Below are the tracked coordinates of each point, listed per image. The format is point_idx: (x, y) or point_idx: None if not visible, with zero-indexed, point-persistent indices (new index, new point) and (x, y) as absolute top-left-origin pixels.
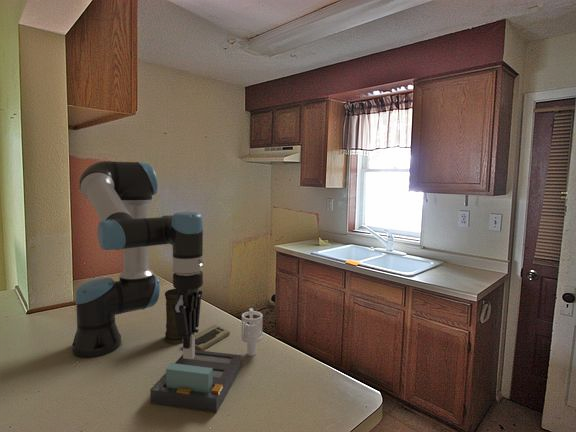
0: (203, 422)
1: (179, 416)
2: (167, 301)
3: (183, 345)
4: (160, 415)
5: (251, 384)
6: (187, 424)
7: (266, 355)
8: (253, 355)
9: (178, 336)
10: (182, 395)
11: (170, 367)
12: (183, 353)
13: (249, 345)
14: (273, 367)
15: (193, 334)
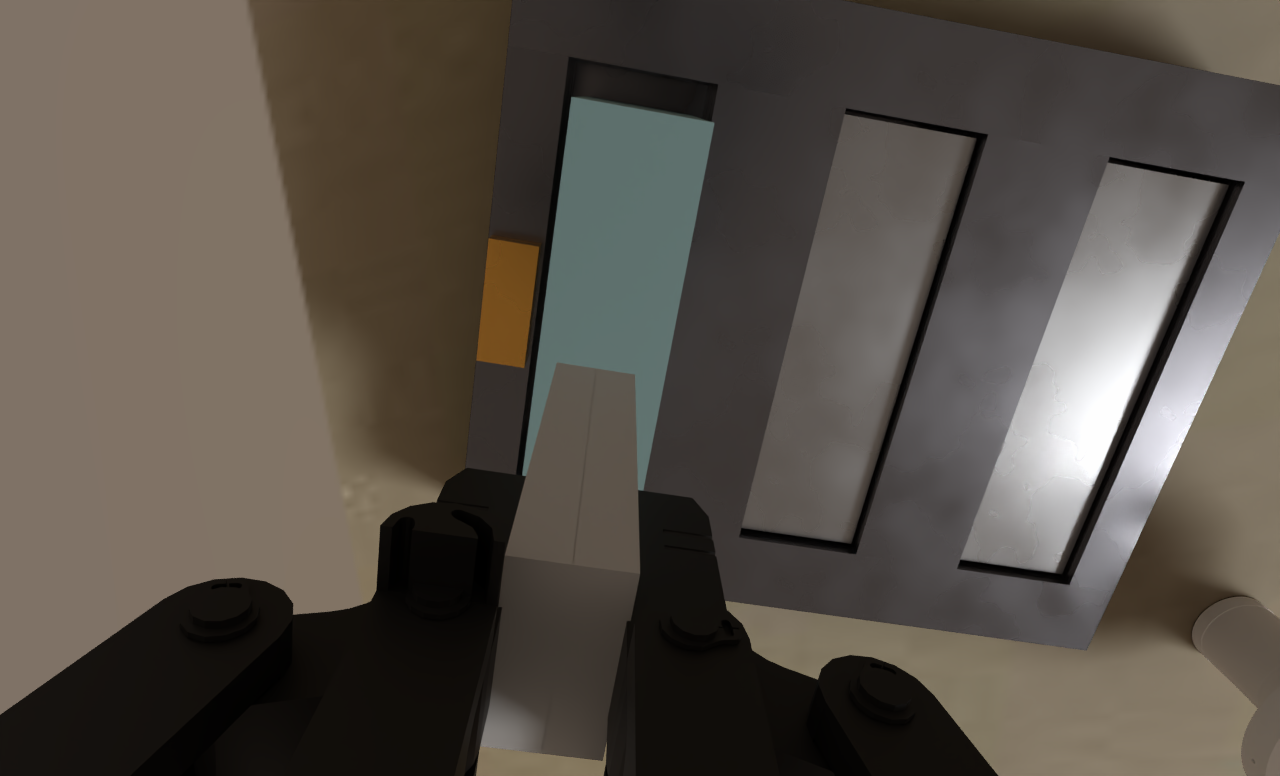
0: (378, 443)
1: (413, 267)
2: None
3: (439, 500)
4: (403, 114)
5: (796, 664)
6: (342, 347)
7: (1174, 724)
8: (1194, 642)
9: (202, 586)
10: (483, 289)
11: (607, 145)
12: (551, 395)
13: (1269, 677)
14: (996, 772)
15: (558, 748)
